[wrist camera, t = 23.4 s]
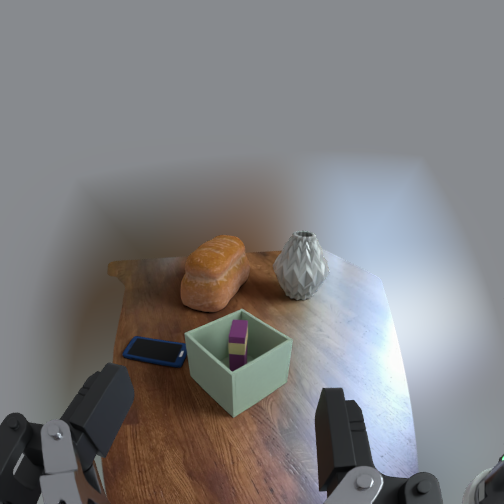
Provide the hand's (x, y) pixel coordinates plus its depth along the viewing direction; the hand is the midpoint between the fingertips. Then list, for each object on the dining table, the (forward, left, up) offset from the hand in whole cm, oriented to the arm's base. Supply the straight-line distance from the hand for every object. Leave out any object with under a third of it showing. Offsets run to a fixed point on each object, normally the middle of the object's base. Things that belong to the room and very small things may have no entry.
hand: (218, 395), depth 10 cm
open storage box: (-21, -24, -32) cm, 45 cm away
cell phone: (-12, -41, -32) cm, 53 cm away
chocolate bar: (-21, -24, -31) cm, 44 cm away
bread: (-40, -56, -32) cm, 75 cm away
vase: (-57, -39, -32) cm, 76 cm away
